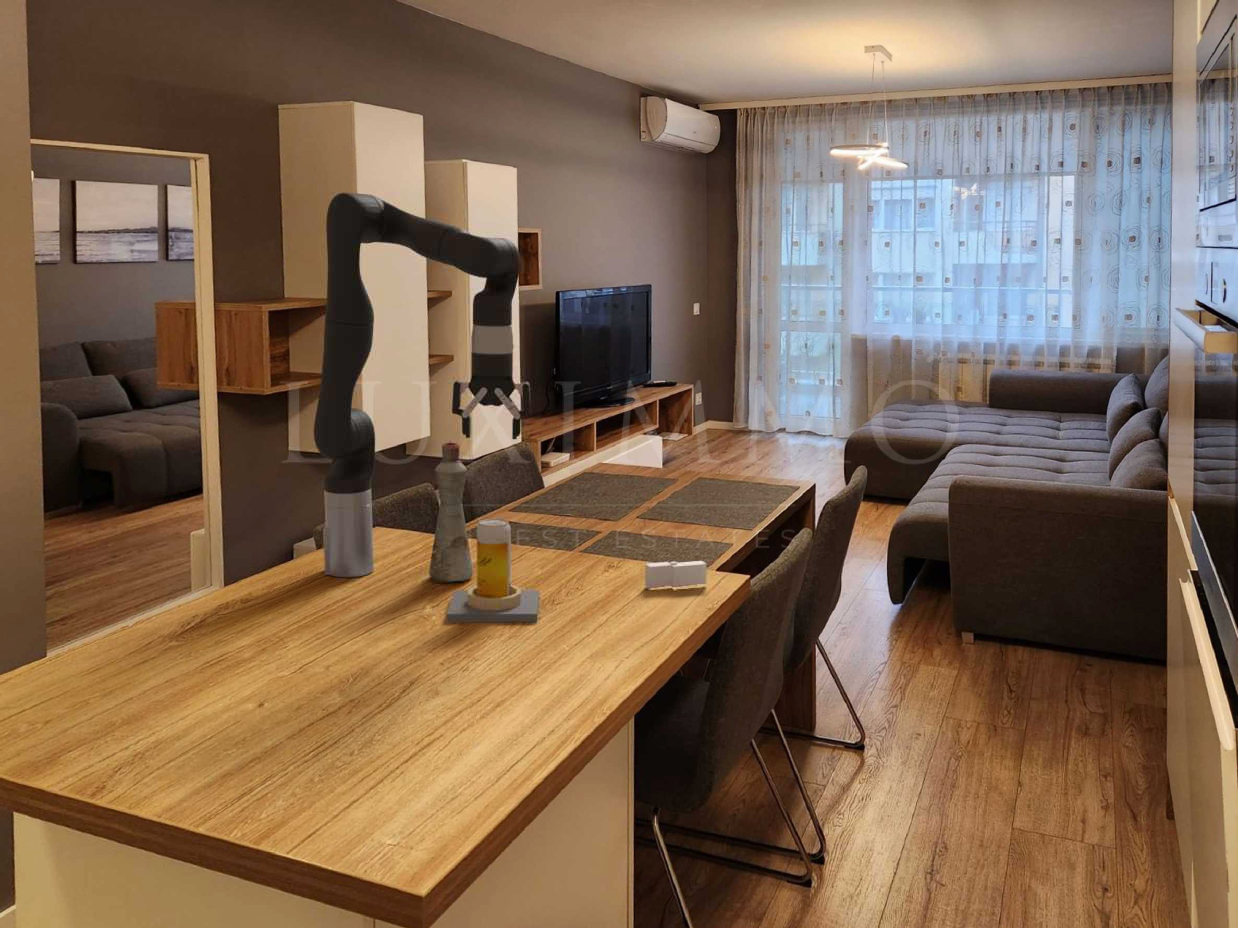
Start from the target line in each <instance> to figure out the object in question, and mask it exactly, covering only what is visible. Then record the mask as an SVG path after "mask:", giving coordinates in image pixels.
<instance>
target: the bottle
mask: <svg viewBox="0 0 1238 928" xmlns="http://www.w3.org/2000/svg"><path fill="white" fill-rule="evenodd" d="M441 451H442V452H441V453H442V454H441V455H442V460H441V462H440V463H439V464H438V465H437V466H436V467H435V469H434V470H435V471H434V473H435V477H436V482H437V483H436V484H437V490H438V494H439V501H440V504H439V509H438V514H437V522H436V527H435V528H436V529H435V532H434V533H435V534H434V539H433V545H432V550H431V551H432V552H431V558H430V563H429V564H430V565H429V569H428V575H429V576H430V578H431V579H432V580H433V581H434V582H435V583H452V582H465V581H468V580H469V581H470V580H471V578H472V577H473V574H474V569H473V568H474V567H473V563H472V557H471V552H470V545H469V539H468V537H469V536H468V532H467V525H466V520H465V514H464V513H465V512H464V509H463V502H462V501H463V497H464V496H463V493H464V489H465V485H466V483H465V482H466V477H467V471H468V470H467V467H466V466H465V465H464V464H463V463H462V462H461V460H460V459H459V458H460V445H459V443H455V442H452V441H449V442H445V443H443V444H442V445H441Z"/></svg>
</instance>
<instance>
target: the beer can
mask: <svg viewBox="0 0 1238 928" xmlns="http://www.w3.org/2000/svg"><path fill="white" fill-rule="evenodd" d="M511 529H512V528H511V526H510V524H509V521H508V520H506V519H503V518H485V519H483V520H482V519H481V520H479V522H478V525H477V526H476V586H477V596H479V597H484V598H502V597H508V596H511V585H512V584H511V583H512V582H511V580H512V579H511V578H512V577H511V575H512V574H511V568H512V566H511V563H512V562H511V559H512V558H511V555H512V553H511V550H512V549H511V542H512V541H511V538H512V537H511V532H512V531H511Z"/></svg>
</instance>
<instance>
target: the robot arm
mask: <svg viewBox="0 0 1238 928" xmlns="http://www.w3.org/2000/svg"><path fill="white" fill-rule="evenodd" d="M325 221H326V223H325V224H326V225H325V226H326V229H325V231H326V251H327V255H326V256H327V281H326V306H325V314H324V315H325V316H324V329H323V330H324V331H323V354H322V356H323V357H322V365H321V376H320V377H321V378H320V388H319V394H318V400H317V406H316V413H315V417H314V423H313V438H314V439H313V440H314V444H315V446H316V448H317V450H318V452H319V454H321V455H322V456H323V457H325V458H326V459H329V460H335V462H334V464H333V466H332V468H331V469H330V470H329V471H328V472H327V473H326V474H325V475H324V478H323V489H324V490H323V493H324V515H325V516H324V517H325V519H324V520H325V521H324V522H325V526H324V528H323V529H322V534H323V535H322V538H323V559H324V575H325V576H333V577H336V578H337V577H338V578H339V577H340V578H355V577H362V576H366V575H368V574H371V573H373V572H374V569H375V567H374V562H375V559H374V538H373V537H374V534H373V511H372V510H373V508H372V507H373V506H372V501H373V500H372V479H373V477H374V473H375V466H376V433H375V427H374V424H373V421H372V419H371V417H370V416H369V414H368V413H366V411H364V410H362V409H360V408H352V407H353V406H352V405H353V396H354V392H355V388H356V384H357V382H358V380H359V377H360V375H361V373H362V371H363V370H364V367H365V365H366V363H367V361H368V358H369V357H370V353H371V351H372V348H373V347H372V346H373V341H374V339H373V338H374V328H375V327H374V326H375V324H374V323H375V312H374V308H373V304H372V302H371V298H370V297H369V294H368V292H367V289H366V287H365V285H364V282H363V280H362V279H363V278H362V274H361V267H360V266H361V265H360V261H361V260H360V257H361V245H362V244H373V243H382V244H384V243H385V244H393V245H398V246H402V247H405V248H408V249H410V250H411V251H413V252H415V253H416V254H418V255H419V256H421V257H423V258H426V259H429V260H431V261H434V262H437V263H440V264H441V263H442V264H444V265H448V266H451V267H455V268H456V269H457V270H460V271H461V272H463V273H465V274H468V275H469V276H474V277H477V278H481V279H485V284H484V288H483V289H482V290H481V291H478V292H477V293H476V294H475V295H474V296H473V300H472V330H471V337H470V338H471V339H470V341H471V342H470V343H471V345H470V346H471V347H470V351H471V352H470V355H471V356H470V360H471V361H470V362H471V364H470V367H471V369H470V381H469V382H468V381H461V380H460V379H457V380H456V381H454V382H453V388H452V389H453V390H452V402H451V403H452V404H451V412H452V414H454V415H457V416H460V417H461V422H462V423H461V433H462V435H463V436H465V439H470V438H471V433H472V432H471V431H472V426H471V425H472V423H471V422H472V420H471V413H472V412H473V411H474V410H475V408H476V407H477V406H478V405H479V404H480V406H481V405H482V406H483V407H484V406H485V407H488V406H494V407H501V406H503V405H504V407H505V409H507V410H508V411H509V413H510V414H511V415H512V417H513V418H512V431H511V434H512V435H511V437H512V439H511V440H517V439H518V437H520V434H521V428H522V427H521V426H522V425H521V424H522V423H521V420H522V419H523V418H526V417H529V416H530V415H531V413H532V405H531V404H532V403H531V386H530V385H531V384H530V382H528V381H525V382H524V383H523V382H522V383H521V382H520V383H515V382H514V379H513V378H514V376H513V371H514V370H513V369H514V359H513V358H514V357H513V355H514V335H513V327H512V325H513V318H512V317H513V299H514V295H515V292H516V287H517V284H518V279H519V276H520V270H521V257H520V252H519V250H518V247H517V246H516V244H515V243H514V242H513V241H512V240H510V239H508V238H503V237H483V236H478V235H473V234H471V233H470V232H469V231H468V230H466V229H464V228H461V227H458V226H455V225H452V224H447V223H444V222H441V221H438V220H433V219H430V218H424V217H420V216H417V215H415V214H412V213H410V212H406V211H404V210H402V209H401V208H398V207H396V206H395V205H393V204H392V203H389V202H387V201H385V200H383V199H381V198H380V197H378V196H375V195H372V194H367V193H356V192H355V193H354V192H341V193H338V194H336V195H335V196H334V197H333V198H332V199H331V201H330V202H329V205H328V207H327V212H326V220H325ZM466 389H468V390H469V391H470V393H471V394H472V396H473V399H471V401H470V402H469V404H467V406H466V408H463V407H461V402H462V401H461V399H462V394H464V393H465V392H466ZM515 390H516V391H517V392H518V394H519V395H521V396H522V403H523V404H522V407H523V409H520V410H519V408H518V406H517V405H516V403H515V402H514V400H513V399H512V397H511V395H512V394H513V393H514V391H515Z"/></svg>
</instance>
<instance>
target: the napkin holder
mask: <svg viewBox="0 0 1238 928" xmlns="http://www.w3.org/2000/svg"><path fill="white" fill-rule="evenodd" d="M644 575H645V576H644V577H645V581H644V582H645V584H644V585H645V586H646V587H648V588H649V589H651V588H658V587H665V586H672V587H682V586H690V585H697V584H706V585H707V563H706V562H704V561H703V560H696V561H695V560H694V561H685V562H677V561H670V562H669V561H664V562H663V561H661V562H649V563H645V574H644Z"/></svg>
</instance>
